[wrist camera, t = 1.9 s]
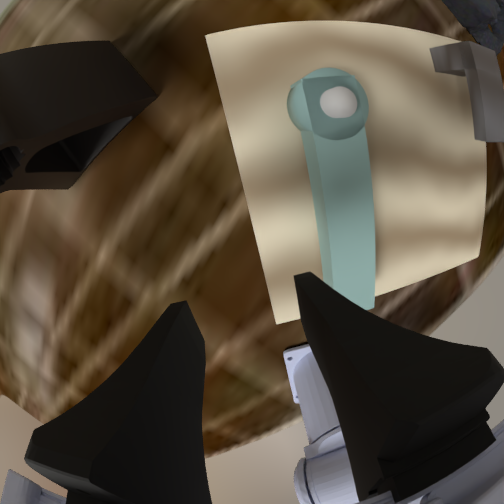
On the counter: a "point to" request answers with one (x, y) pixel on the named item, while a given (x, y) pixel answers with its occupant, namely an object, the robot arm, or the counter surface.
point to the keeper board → (378, 140)
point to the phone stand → (63, 110)
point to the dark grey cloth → (481, 20)
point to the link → (339, 177)
